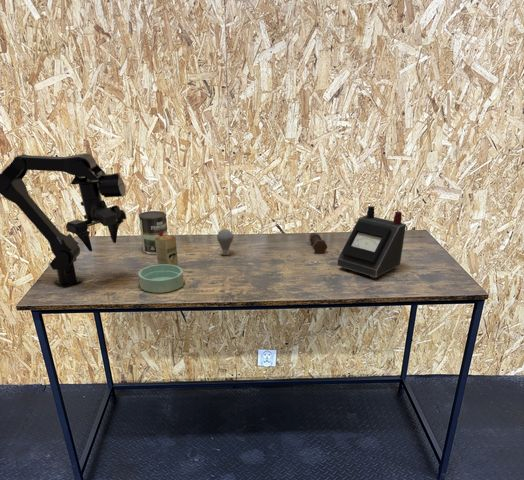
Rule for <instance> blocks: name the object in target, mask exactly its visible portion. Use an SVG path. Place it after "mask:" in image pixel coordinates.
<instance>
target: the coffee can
mask: <svg viewBox="0 0 524 480" xmlns="http://www.w3.org/2000/svg"><path fill="white" fill-rule="evenodd" d="M138 218H139V219H138V220H139V227H140V235H141V236H140V237H141V244H142V252H143V253H145V254H148V255H157V252H156V243H155V238H157V237H160V236H163V235H168V236H169V233H168V224H167V223H168V222H167V213H166V212H165V211H160V210H159V211H158V210H150V211H144V212H141V213H139V214H138Z"/></svg>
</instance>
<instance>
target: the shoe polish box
mask: <svg viewBox="0 0 524 480" xmlns="http://www.w3.org/2000/svg"><path fill="white" fill-rule="evenodd" d="M155 243H156V252H157V254H156V260H157V265H159V264H170V265H176V266H178V267H179V259H178V249H177V239H176V236H172V235H169V234H168V235H163V236H160V237H157V238H155Z"/></svg>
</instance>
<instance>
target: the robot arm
mask: <svg viewBox="0 0 524 480" xmlns="http://www.w3.org/2000/svg"><path fill="white" fill-rule="evenodd" d="M28 171H43V172H62V173H65V174H68V175H71V176H74V178H73V179H72V181H70V184H71V185H72V186H73V185H78V188H79V192H80V197H81V200H82V201H80V206H82V207H83V210H84V212H85V213H84V215H83V218H84V219H85V220H80V219H73V220H70V221H67V222H66V225H65V227H66V228H65V229H66V231H67V232H68V233H69V234H67V235H66V234H64V233H62V232H61V230H60V229H58V227H57V226H56V225H55V224H54V223H53V222H52V221H51V219H50V218H49V217H48V216H47V215H46V213H45V212H44V211H43V209H41V207H40V206H39V205H38V204H37V203H36V202H35V201H34V199H33V198H32V197H31V196H30V195H29V192H28V188H27V186H26V183H25V182H24V180H23V179H24V178H25V177H26V175H27V173H28ZM0 195H1V196H2V197H3V198H5V199H6V200H7V201H9V202H12V203H14V204H15V205H16V206H17V207H18V209H20V211H21V212H22V213H23V214H24V215H25V216H26V218H28V220H29V221H30V222H31V223H32V224H33V226H34V227H35V228H36V229H37V230H38V231H39V233H40V234H41V235H42V236H43V237H44V238H45V239H46V240H47V242H48V243H49V247H50V250H51V253H52V254H53V256H54V258H53V259H52V260H51V262H50V263H49V265H50V267H51V269H52V270H54V271H55V270H56V273H57V279H56V280H55V281H54V283H55V284H57V285H59V286H61V287H63V288H67V287H70V286H74V285H76V284H80V283H82V280H81V279H79V278H77V272H76V268H75V262H76V261H77V258H78V257H79V256H80V254H81V246H80V245H79V243H80V242H78V241H76V240H75V238H74V237H73V235H72V234H74V235H76V237H78V238H79V239H80V241H81V242H82V244H84V246H85V247H86V249H87V250H88V251H89V252H93V247H92V246H93V245H92V243H91V240H90V239H91V238H90V231H89V230H88V229H89V227H91V226H95V225H98V224H101V225H102V226H104V227H107V229H108V232H109V235H110V238H111V241H112V243H113V244H116V243H117V239H118V231H119V227H120V225H122V223H124V220H126V219H127V214H126V212H125V210H124V209H120V206H118V205H112V206H109V207H108V206H107V203H106V201H105V199H104V200H103V199H102V196H103V197H104V198H121V197H122V198H123V197H125V195H126V185H125V182H124V180H123V178H122V177H121V173H120V172H115V173H106V172H105V171H104V170H103V168H102V167H100V166H99V164H98V163H97V161H96V158H95V157H93V156H92V155H91V154H90V153H86V152H85V153H78V154H77V153H76V154H73V155H68V156H67V155H66V156H53V155H52V156H51V155H33V154H32V155H29V154H25V153H23V154H19V155H17V156H15V157H14V158H13V159H12V160H11V162H10V163H9V164H8V166H6V167H5V168H4V170H2V171H1V173H0ZM71 233H72V234H71Z"/></svg>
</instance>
